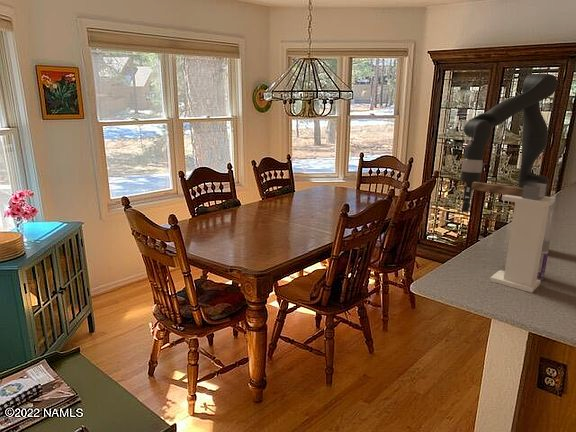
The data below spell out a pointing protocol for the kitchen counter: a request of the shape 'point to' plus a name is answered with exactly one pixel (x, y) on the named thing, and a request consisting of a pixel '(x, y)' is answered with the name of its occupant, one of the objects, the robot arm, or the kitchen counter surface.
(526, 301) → the kitchen counter surface
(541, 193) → the mallet
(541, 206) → the stand
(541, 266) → the container
